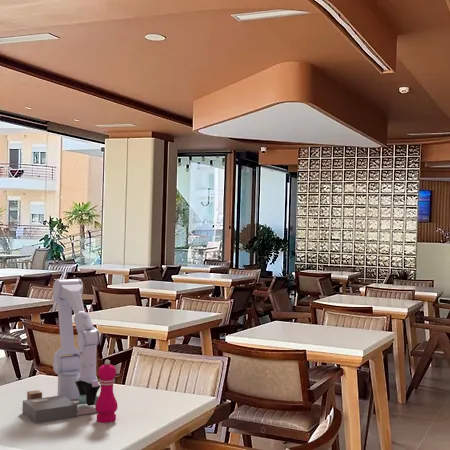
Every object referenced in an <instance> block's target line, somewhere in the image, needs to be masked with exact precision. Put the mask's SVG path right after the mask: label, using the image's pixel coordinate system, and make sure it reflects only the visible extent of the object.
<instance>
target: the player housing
mask: <svg viewBox="0 0 450 450" xmlns="http://www.w3.org/2000/svg"><path fill="white" fill-rule="evenodd" d="M74 402H75V401H73V400H69V399H68V398H66V397H64V396H63V395H61V396H54V395H53V396H49V397H42V398H38V399H31V400H27V399H25V400H22V414H23V415H24V416H26V418H28V419H29V420H31V421H32V422H33V423H34V424H40V423H41V424H42V423H49V422H55V421H61V420H67V419H68V418H69V419H74V418H77V417H78V415H77V404H75V403H74Z"/></svg>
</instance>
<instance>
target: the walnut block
mask: <svg viewBox="0 0 450 450" xmlns="http://www.w3.org/2000/svg"><path fill="white" fill-rule="evenodd" d="M38 398H43V392H42V391H41V390H39V389H38V390H37V389H36V390H30V391H27V392H26V400H31V399H38Z"/></svg>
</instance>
